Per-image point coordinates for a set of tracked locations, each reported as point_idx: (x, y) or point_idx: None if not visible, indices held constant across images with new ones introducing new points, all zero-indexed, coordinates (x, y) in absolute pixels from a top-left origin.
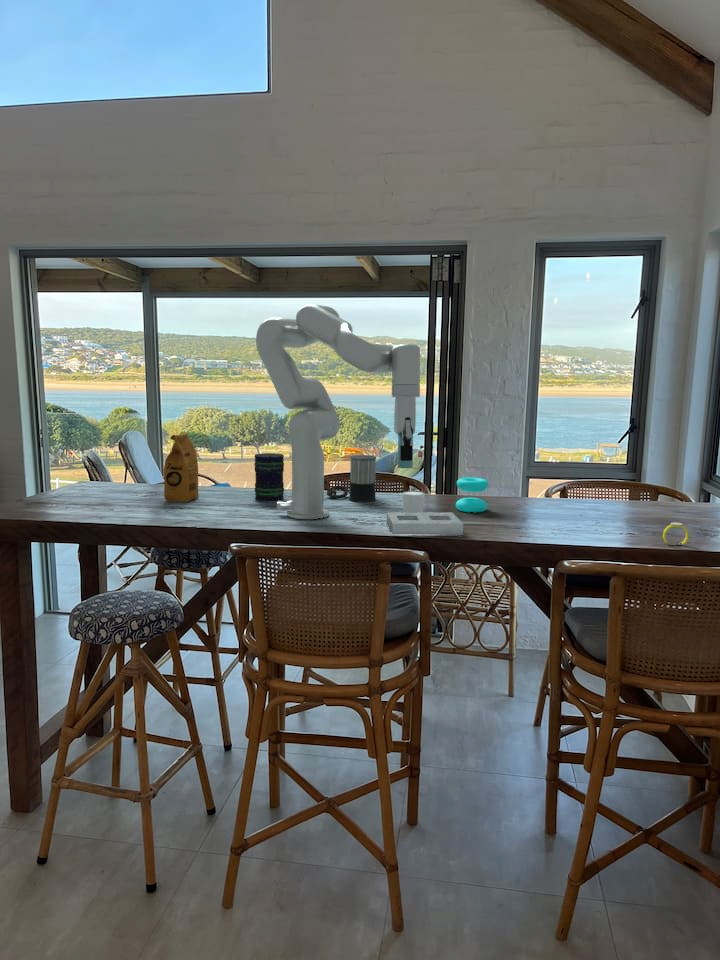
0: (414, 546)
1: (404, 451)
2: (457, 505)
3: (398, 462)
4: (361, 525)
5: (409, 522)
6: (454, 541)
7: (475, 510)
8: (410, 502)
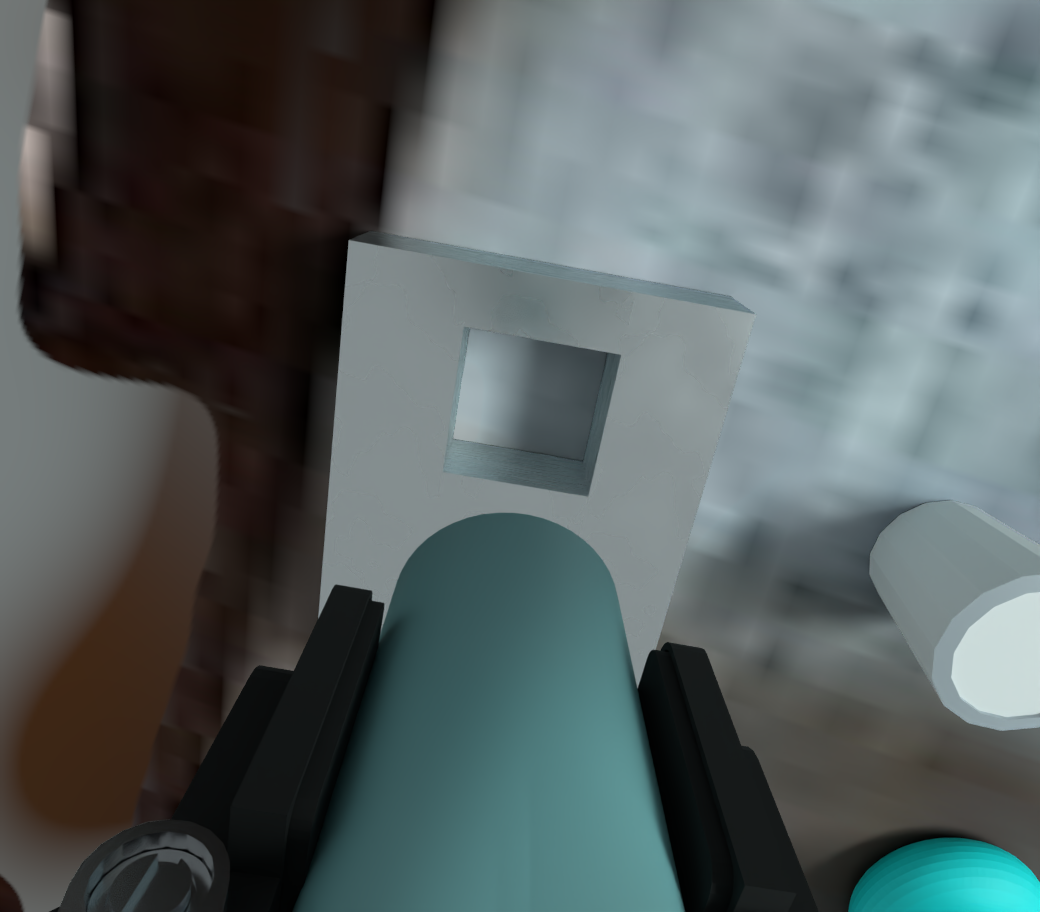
0: (107, 297)
1: (214, 757)
2: (963, 854)
3: (489, 554)
4: (759, 83)
5: (373, 379)
6: (224, 559)
7: (853, 895)
8: (936, 576)
